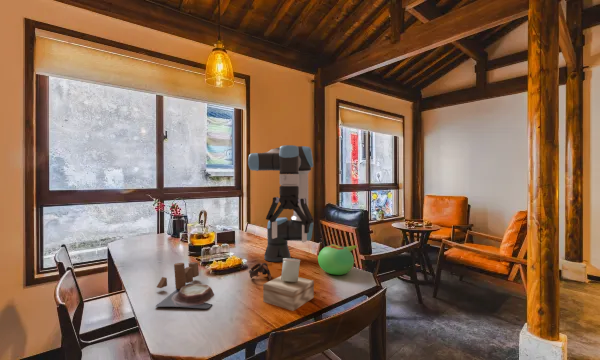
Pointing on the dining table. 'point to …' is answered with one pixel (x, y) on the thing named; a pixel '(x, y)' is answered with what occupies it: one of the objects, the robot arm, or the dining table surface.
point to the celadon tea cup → (290, 269)
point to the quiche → (189, 297)
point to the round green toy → (336, 259)
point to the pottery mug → (260, 270)
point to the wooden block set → (182, 275)
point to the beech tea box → (288, 292)
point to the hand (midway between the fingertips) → (289, 239)
